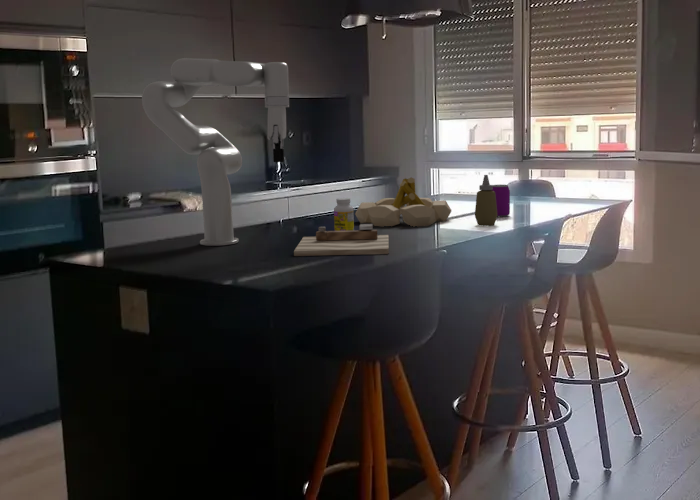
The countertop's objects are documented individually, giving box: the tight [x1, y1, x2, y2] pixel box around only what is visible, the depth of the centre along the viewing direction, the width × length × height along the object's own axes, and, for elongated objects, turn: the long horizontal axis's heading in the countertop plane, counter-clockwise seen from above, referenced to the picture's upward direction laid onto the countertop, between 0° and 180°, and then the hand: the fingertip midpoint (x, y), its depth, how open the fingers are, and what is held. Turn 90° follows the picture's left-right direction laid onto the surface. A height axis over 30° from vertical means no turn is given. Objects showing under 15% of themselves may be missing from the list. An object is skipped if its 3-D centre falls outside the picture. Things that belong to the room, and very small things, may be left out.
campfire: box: [354, 176, 452, 228], centre depth 314 cm, size 35×34×17 cm
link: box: [315, 229, 378, 241], centre depth 263 cm, size 20×4×2 cm, turn 89°
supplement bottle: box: [333, 197, 355, 231], centre depth 280 cm, size 7×7×13 cm
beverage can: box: [492, 184, 511, 218], centre depth 320 cm, size 8×8×12 cm
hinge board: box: [293, 223, 390, 257], centre depth 258 cm, size 28×28×6 cm
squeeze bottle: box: [474, 174, 498, 227], centre depth 296 cm, size 8×8×18 cm
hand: (278, 161), depth 261 cm, fingers closed
